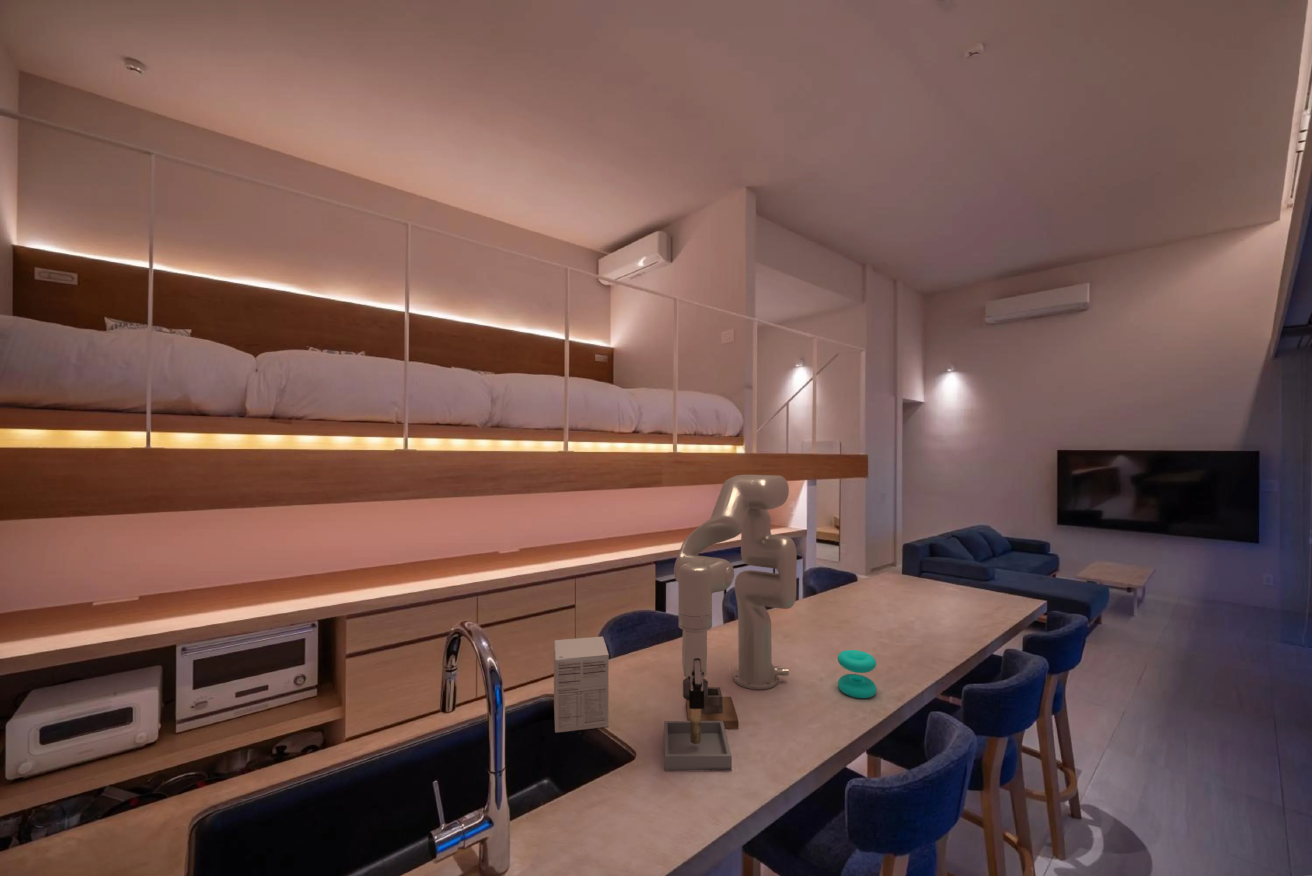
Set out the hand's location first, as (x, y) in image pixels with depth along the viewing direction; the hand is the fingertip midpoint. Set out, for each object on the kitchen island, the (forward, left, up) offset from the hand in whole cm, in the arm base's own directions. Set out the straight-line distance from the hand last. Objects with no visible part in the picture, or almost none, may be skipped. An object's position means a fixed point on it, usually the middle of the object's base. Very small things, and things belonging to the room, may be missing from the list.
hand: (695, 700), depth 115 cm
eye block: (-5, -15, -11) cm, 19 cm away
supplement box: (+28, -15, -11) cm, 34 cm away
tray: (0, 0, -11) cm, 11 cm away
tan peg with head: (0, 0, -9) cm, 9 cm away
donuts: (-47, -28, -11) cm, 56 cm away
